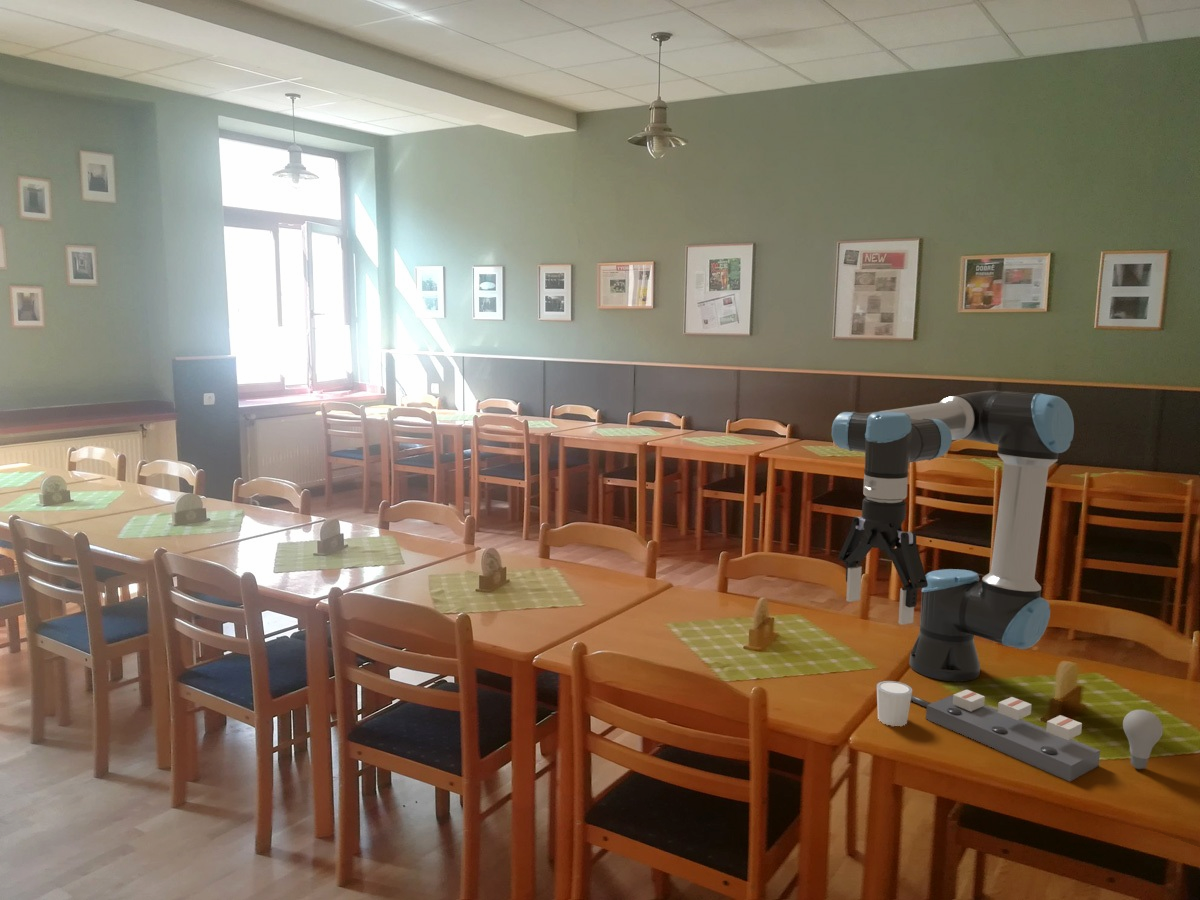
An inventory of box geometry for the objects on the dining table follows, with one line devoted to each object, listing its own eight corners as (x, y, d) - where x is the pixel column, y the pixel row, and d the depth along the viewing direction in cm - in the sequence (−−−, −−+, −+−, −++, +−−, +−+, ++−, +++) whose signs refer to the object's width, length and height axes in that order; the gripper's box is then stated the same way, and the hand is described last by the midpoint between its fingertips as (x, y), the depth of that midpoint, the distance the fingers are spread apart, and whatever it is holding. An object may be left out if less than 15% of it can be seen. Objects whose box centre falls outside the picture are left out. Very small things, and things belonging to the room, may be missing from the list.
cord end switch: (966, 698, 180) (966, 689, 179) (984, 705, 176) (984, 696, 176) (952, 704, 177) (953, 694, 177) (970, 711, 174) (971, 701, 173)
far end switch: (1059, 725, 164) (1060, 714, 163) (1081, 733, 161) (1082, 722, 160) (1046, 731, 161) (1047, 720, 161) (1067, 740, 158) (1069, 729, 158)
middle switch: (1010, 706, 172) (1011, 696, 171) (1030, 714, 168) (1031, 703, 168) (997, 712, 169) (998, 702, 169) (1017, 720, 166) (1018, 709, 165)
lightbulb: (1111, 760, 162) (1116, 703, 160) (1142, 759, 162) (1149, 703, 160) (1133, 777, 156) (1139, 719, 154) (1166, 776, 156) (1172, 718, 154)
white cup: (912, 729, 173) (915, 696, 172) (876, 726, 174) (878, 692, 173) (907, 714, 180) (910, 681, 179) (872, 711, 181) (874, 678, 180)
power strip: (914, 690, 191) (915, 676, 191) (1098, 765, 160) (1100, 748, 159) (885, 701, 185) (886, 686, 185) (1069, 781, 154) (1071, 764, 153)
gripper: (822, 487, 168) (818, 594, 171) (921, 514, 146) (913, 637, 149) (853, 484, 171) (848, 589, 174) (954, 510, 149) (946, 630, 152)
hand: (878, 611), depth 162 cm, fingers open, 13 cm apart
